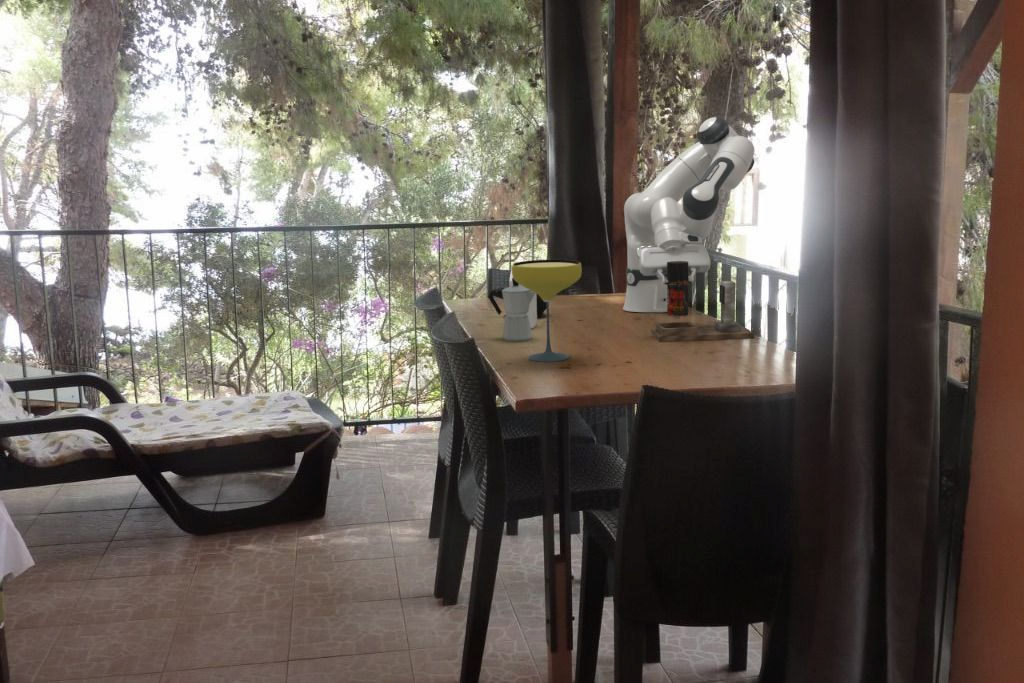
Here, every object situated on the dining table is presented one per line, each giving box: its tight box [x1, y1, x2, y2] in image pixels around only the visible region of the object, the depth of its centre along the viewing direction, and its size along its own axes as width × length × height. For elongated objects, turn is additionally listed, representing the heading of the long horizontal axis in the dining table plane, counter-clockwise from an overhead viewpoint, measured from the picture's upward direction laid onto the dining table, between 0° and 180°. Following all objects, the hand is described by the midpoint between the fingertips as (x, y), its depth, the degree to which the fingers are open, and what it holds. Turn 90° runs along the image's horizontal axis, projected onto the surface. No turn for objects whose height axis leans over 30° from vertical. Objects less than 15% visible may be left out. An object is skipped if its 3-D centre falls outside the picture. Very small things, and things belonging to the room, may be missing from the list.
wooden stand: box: [651, 280, 755, 343], centre depth 276 cm, size 27×11×16 cm, turn 92°
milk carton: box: [508, 266, 538, 329], centre depth 300 cm, size 7×7×19 cm
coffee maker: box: [488, 278, 535, 342], centre depth 281 cm, size 15×9×18 cm, turn 71°
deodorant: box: [666, 261, 689, 317], centre depth 275 cm, size 6×6×15 cm
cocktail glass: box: [512, 259, 583, 363], centre depth 253 cm, size 18×18×25 cm
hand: (678, 283), depth 274 cm, fingers closed on deodorant, 6 cm apart
